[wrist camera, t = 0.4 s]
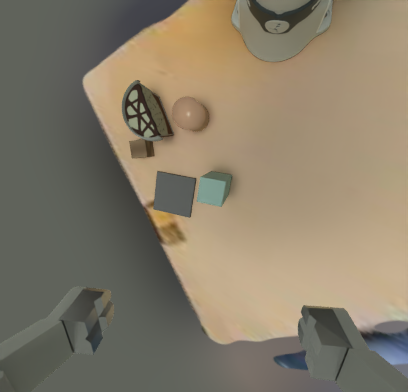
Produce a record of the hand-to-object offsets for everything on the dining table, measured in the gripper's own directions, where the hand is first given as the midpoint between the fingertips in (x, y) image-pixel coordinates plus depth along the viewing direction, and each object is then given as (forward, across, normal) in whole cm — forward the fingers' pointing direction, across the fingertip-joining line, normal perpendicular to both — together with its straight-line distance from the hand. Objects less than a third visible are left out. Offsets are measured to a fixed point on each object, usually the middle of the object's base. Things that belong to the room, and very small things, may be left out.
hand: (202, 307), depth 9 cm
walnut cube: (+47, +19, +2) cm, 51 cm away
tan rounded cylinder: (+47, +6, -5) cm, 48 cm away
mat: (+44, +12, +13) cm, 48 cm away
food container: (+48, +16, -4) cm, 51 cm away
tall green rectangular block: (+43, 0, +10) cm, 44 cm away
